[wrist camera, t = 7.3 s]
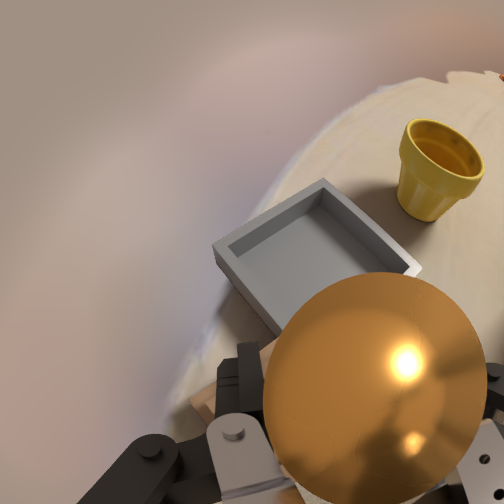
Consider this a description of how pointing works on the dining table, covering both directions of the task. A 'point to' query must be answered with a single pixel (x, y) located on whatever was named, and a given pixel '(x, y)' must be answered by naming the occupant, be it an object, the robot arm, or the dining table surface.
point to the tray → (305, 252)
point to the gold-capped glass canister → (374, 390)
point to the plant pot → (436, 169)
